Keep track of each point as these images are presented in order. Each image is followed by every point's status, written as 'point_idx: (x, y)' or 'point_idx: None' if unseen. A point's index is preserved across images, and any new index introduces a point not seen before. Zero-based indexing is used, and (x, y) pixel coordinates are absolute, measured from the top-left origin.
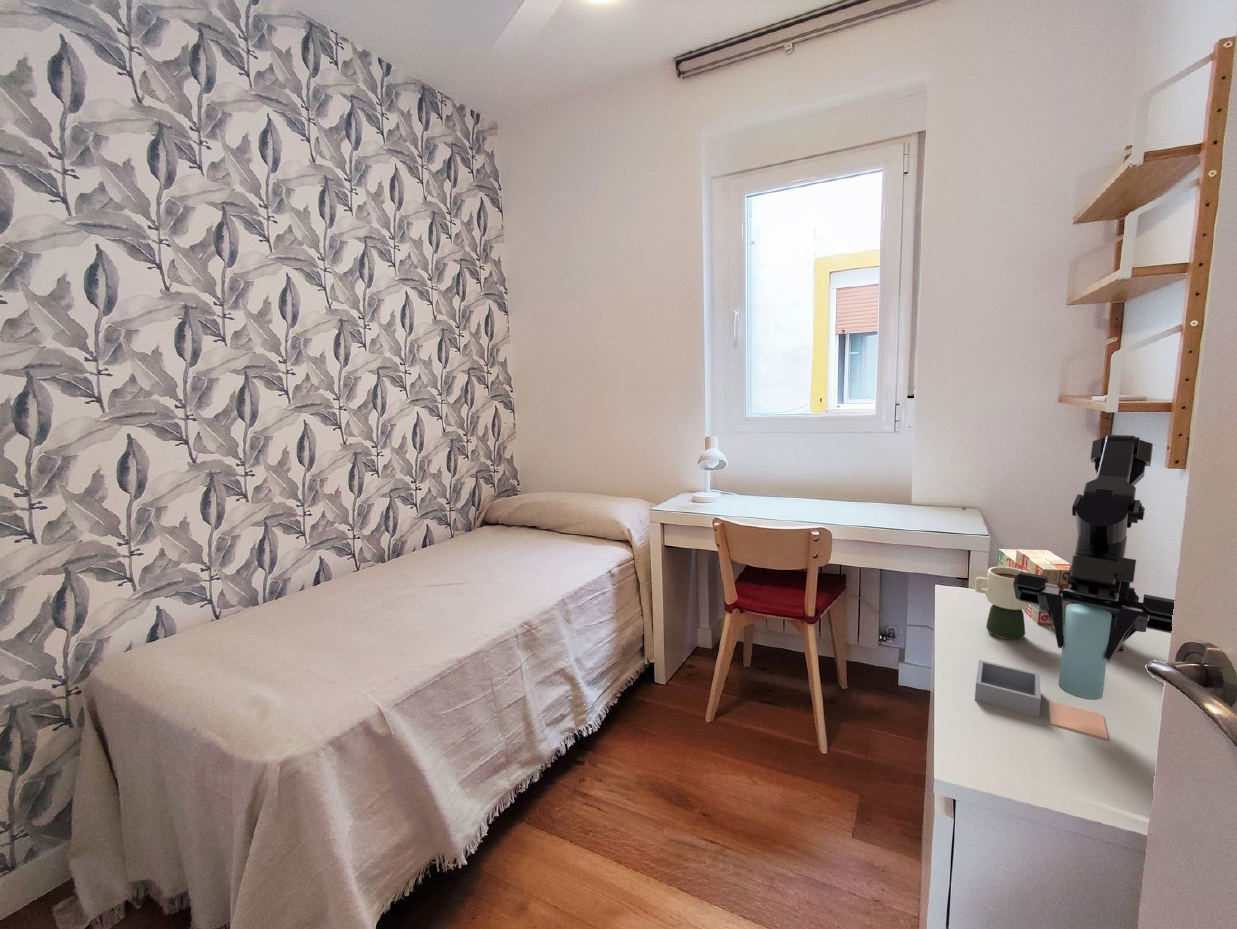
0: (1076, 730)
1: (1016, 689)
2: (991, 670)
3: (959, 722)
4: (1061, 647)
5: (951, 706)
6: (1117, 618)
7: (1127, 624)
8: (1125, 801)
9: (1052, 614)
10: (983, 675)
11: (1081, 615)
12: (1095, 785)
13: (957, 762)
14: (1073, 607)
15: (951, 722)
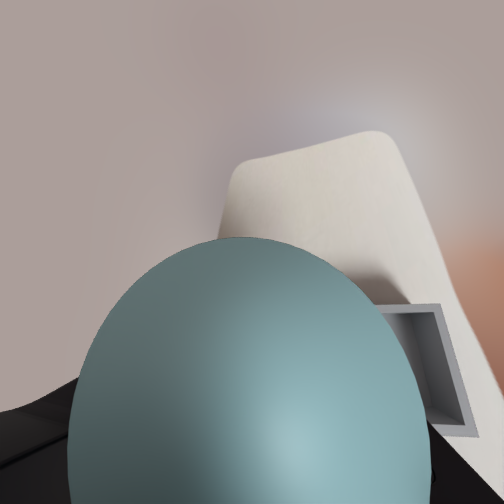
0: None
1: None
2: (432, 417)
3: (411, 234)
4: None
5: (437, 271)
6: (61, 435)
7: (45, 407)
8: (237, 193)
9: (453, 455)
10: (436, 410)
11: (285, 254)
12: (259, 201)
13: (384, 156)
14: (357, 439)
15: (420, 227)
